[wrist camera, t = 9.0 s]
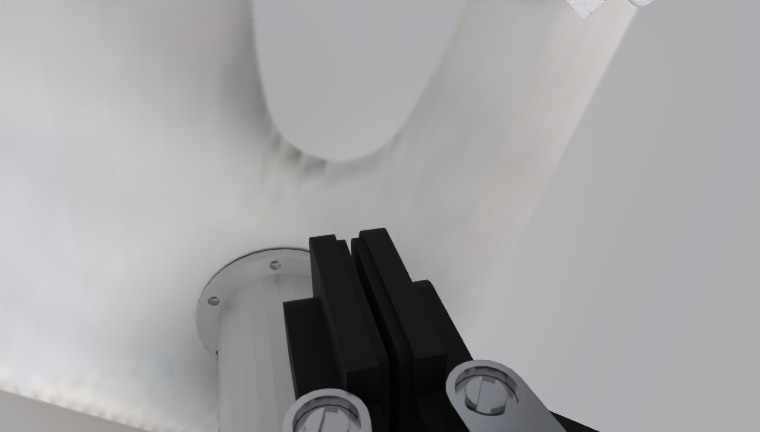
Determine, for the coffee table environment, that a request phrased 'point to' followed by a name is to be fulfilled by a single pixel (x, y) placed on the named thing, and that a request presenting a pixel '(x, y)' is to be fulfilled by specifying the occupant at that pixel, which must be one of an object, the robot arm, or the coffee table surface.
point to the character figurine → (596, 5)
